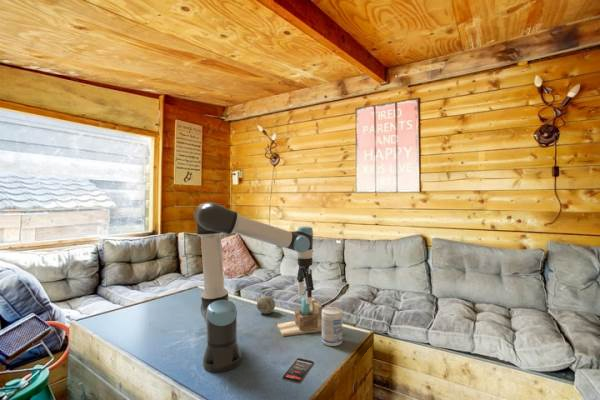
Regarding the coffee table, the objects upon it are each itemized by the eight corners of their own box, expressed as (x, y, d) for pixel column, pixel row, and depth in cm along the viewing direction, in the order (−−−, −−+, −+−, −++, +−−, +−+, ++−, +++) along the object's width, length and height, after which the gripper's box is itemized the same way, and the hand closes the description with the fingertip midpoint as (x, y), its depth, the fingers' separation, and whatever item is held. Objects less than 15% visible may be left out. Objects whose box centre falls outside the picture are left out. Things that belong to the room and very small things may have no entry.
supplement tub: (337, 349, 133) (337, 315, 133) (318, 343, 138) (317, 311, 137) (345, 339, 141) (345, 308, 141) (326, 335, 146) (326, 304, 146)
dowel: (303, 324, 152) (302, 300, 152) (300, 320, 156) (300, 297, 156) (310, 322, 153) (310, 299, 153) (308, 319, 157) (307, 296, 157)
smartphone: (281, 378, 112) (297, 357, 125) (281, 380, 112) (297, 359, 125) (299, 382, 109) (314, 361, 123) (299, 384, 109) (314, 363, 123)
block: (316, 327, 152) (316, 315, 151) (299, 329, 149) (299, 317, 149) (311, 320, 160) (311, 308, 160) (294, 322, 158) (294, 310, 158)
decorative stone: (277, 312, 174) (277, 294, 174) (269, 317, 167) (269, 299, 167) (263, 309, 179) (262, 292, 179) (254, 314, 172) (254, 296, 171)
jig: (322, 330, 150) (321, 306, 150) (282, 336, 145) (282, 311, 144) (313, 320, 163) (313, 298, 162) (277, 325, 157) (276, 302, 157)
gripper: (320, 262, 143) (320, 306, 143) (304, 252, 167) (304, 290, 167) (305, 262, 141) (305, 308, 141) (291, 252, 165) (291, 291, 165)
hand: (304, 298), depth 154 cm, fingers open, 13 cm apart
